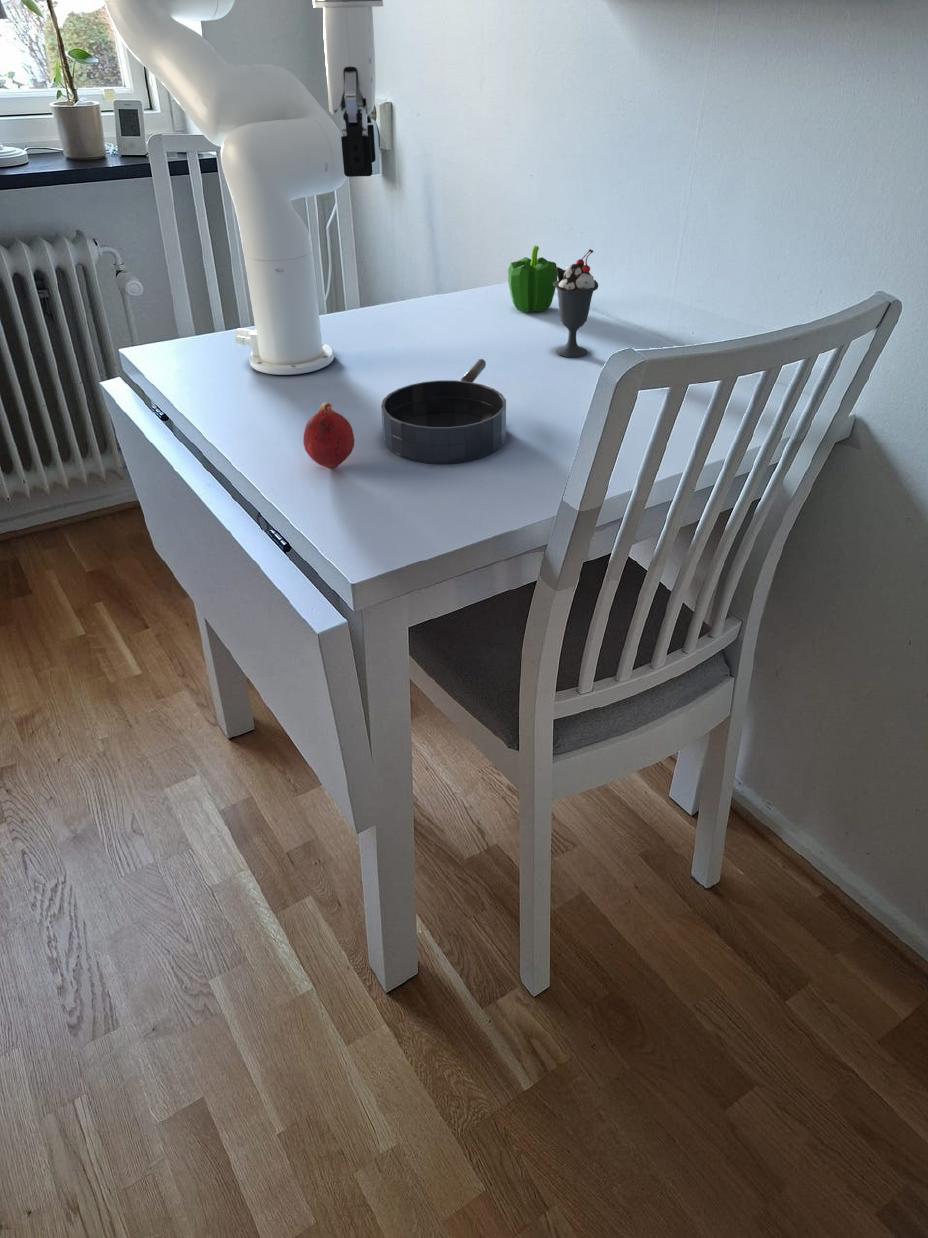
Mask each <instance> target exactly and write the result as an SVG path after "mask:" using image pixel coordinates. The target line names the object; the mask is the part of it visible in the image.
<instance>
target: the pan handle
mask: <svg viewBox="0 0 928 1238" xmlns="http://www.w3.org/2000/svg"><path fill="white" fill-rule="evenodd" d="M486 366H487V363H486V360H484V359H483V358H479V359H477V360H476V361H475V363H473V364H472V366H471V367H470V368H469V369H468V370H467V372H465V374H464V375H463V376H462V378H461V379H459V381H466V382H472V383H474V382H475V380H476V379H477V378H478V377H479V376H480V374H481V373H482V372H483V370H484V369H485V368H486Z"/></svg>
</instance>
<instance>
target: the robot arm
mask: <svg viewBox="0 0 928 1238" xmlns="http://www.w3.org/2000/svg"><path fill="white" fill-rule="evenodd" d="M103 1H104V5H105V8H106V11H107V14H108V16H109V19H110V21H111V23H112V25H113V28H114V30H115V31H116V33H117V35H118V37H119V39H120V40H121V41H122V43H123V44H124V46H125V47H126V48H127V49H128V51H129V52H130V53H131V54H132V55H133V57H135V59H136V60H137V61H138V62H139V63H140V64H141V65H143V67H145V68H146V70H148V71H149V72H150V74H152V75H153V76H154V77H155V78H156V79H157V80H158V81H159V82H160V83H161V84H162V85H163V86H164V88H166V89H167V91H168V93H169V94H170V95H171V97H172V98H173V99H174V100H175V102H176V103H177V105H179V107H180V108H181V109H182V110H183V112H184V113H185V114H186V115H187V117H188V118H189V119H190V120H191V122H192V123H193V125H194V126H195V127H196V128H197V129H198V130H199V132H200V133H201V134H202V135H203V137H205V139H207V140H208V141H209V142H210V143H212V145H215V146H217V147H220V148H221V149H220V162H221V168H222V172H223V175H224V179H225V182H226V185H227V187H228V190H229V191H228V192H229V194H230V197H231V200H232V204H233V207H234V212H235V215H236V220H237V224H238V228H239V235H240V241H241V247H242V254H243V258H244V264H245V271H246V277H247V283H248V291H249V297H250V303H251V309H252V316H253V323H254V329H250V328H243V327H242V328H241V327H240V328H237V329H236V332H235V344H236V345H237V346H239V347H240V346H241V347H250V349H251V353H250V354H249V356H248V359H249V365H250V367H251V368H252V369H253V370H255V371H257V372H260V373H263V374H268V375H277V376H292V375H301V374H306V373H312V372H316V371H318V370H321V369H324V368H325V367H328V366H329V365H330V364H331V363H332V362H333V361H334V358H335V355H334V349H333V348H332V347H331V346H330V345H328V344H326V343H323V339H322V331H321V320H320V312H319V301H318V294H317V285H316V275H315V266H314V258H313V250H312V242H311V236H310V233H309V230H308V227H307V225H306V224H305V222H304V220H303V219H302V218H301V217H300V215H299V214H298V212H297V211H296V210H295V209H294V207H293V204H292V201H295V200H299V199H302V198H308V197H314V196H319V195H320V196H321V195H325V194H328V193H332V192H334V191H336V190H339V188H341V187H342V186H343V185H344V183H345V182H346V180H347V179H348V178H350V177H351V178H353V177H355V178H357V177H358V178H359V177H371V176H372V175H373V172H374V171H373V163H374V162H376V158H377V157H376V141H375V129H374V124H372V112H373V111H374V109H375V105H376V103H375V102H376V53H375V52H376V51H375V49H376V48H375V35H374V34H375V30H374V15H373V8H374V7H375V8H377V7H378V8H379V7H384V0H312V5H313V9H314V8H315V9H317V8H318V9H323V10H322V11H323V13H322V14H323V15H322V17H323V19H322V20H323V21H322V22H323V43H324V56H325V70H326V83H327V97H328V99H327V100H328V101H327V102H328V111H329V113H330V114H331V115H333V116H336V115H337V114H338V112H339V111H341V112H340V113H341V130H340V129H339V127H338V126H337V124H336V122H334V120H333V119H332V117H330V115H329V114H328V113H327V112H326V110H324V108H323V107H322V106H321V104H320V103H319V102H318V100H316V98H315V97H314V96H313V95H312V94H311V92H310V91H309V89H307V88H306V87H305V85H304V84H303V83H302V82H301V80H299V78H298V77H297V75H295V74H294V73H292V72H291V71H290V70H288V69H286V68H284V67H283V66H280V65H277V64H271V63H270V64H268V63H267V64H266V63H265V64H263V63H262V64H248V65H247V64H246V65H243V64H242V65H241V64H232V63H230V62H227V61H226V60H225V59H224V58H223V57H222V56H221V55H220V54H219V53H218V52H217V50H216V49H215V47H214V46H213V45H212V44H211V43H210V42H209V41H208V40H207V39H206V38H205V37H204V36H203V35H201V34H200V33H199V32H197V31H195V30H194V29H192V28H190V27H189V26H186V25H185V24H183V23H182V22H206V21H207V22H208V21H209V22H210V21H215V20H220V19H223V18H224V17H226V16H227V14H229V12H230V11H231V10H232V8H233V6H234V4H235V2H236V0H103Z"/></svg>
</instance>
